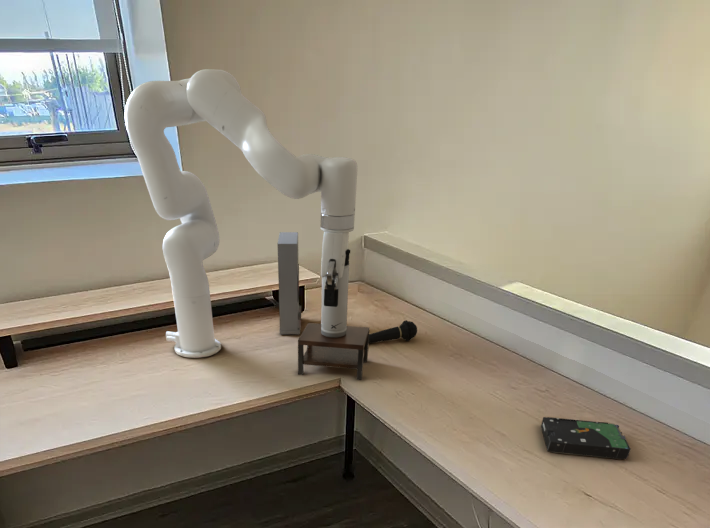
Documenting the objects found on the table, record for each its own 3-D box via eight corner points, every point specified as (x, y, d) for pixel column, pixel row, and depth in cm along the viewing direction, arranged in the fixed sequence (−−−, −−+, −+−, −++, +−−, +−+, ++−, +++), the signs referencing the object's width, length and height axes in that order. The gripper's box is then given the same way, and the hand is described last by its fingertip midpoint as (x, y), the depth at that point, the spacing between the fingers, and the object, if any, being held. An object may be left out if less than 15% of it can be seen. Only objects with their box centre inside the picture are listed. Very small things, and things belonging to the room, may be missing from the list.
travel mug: (338, 340, 134) (341, 253, 122) (316, 334, 137) (316, 249, 126) (352, 332, 138) (356, 247, 126) (330, 326, 141) (332, 243, 130)
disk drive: (546, 454, 110) (627, 461, 107) (550, 441, 108) (632, 448, 106) (539, 427, 118) (614, 433, 116) (542, 416, 117) (618, 421, 114)
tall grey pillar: (300, 335, 161) (300, 243, 146) (279, 335, 161) (277, 243, 147) (301, 318, 172) (300, 232, 158) (281, 318, 172) (279, 232, 158)
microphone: (350, 357, 155) (418, 343, 157) (351, 341, 151) (421, 326, 152) (345, 345, 158) (411, 330, 160) (345, 328, 154) (414, 314, 156)
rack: (298, 374, 140) (297, 340, 134) (308, 355, 149) (308, 322, 144) (361, 380, 137) (363, 345, 132) (367, 360, 146) (369, 327, 141)
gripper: (327, 213, 130) (325, 287, 140) (313, 229, 117) (311, 310, 127) (359, 215, 129) (355, 289, 139) (348, 231, 115) (344, 312, 126)
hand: (334, 299), depth 133 cm, fingers open, 9 cm apart
